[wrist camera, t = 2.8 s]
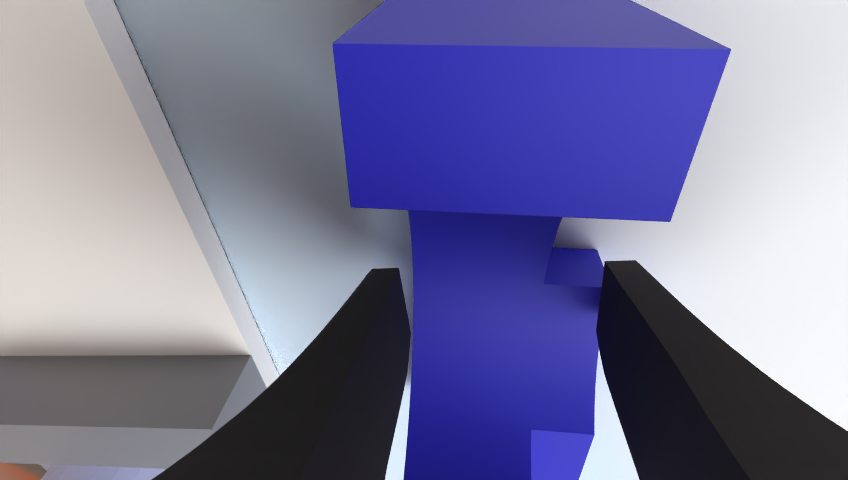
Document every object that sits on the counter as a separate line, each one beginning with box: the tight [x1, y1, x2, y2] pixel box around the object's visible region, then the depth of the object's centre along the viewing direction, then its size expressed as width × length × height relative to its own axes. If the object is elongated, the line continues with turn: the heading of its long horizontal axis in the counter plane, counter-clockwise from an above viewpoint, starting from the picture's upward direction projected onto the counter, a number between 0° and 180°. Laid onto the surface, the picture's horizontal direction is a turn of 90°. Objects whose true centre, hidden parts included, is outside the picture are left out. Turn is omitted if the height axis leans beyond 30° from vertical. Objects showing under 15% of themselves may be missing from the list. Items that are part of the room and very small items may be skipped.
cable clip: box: [333, 0, 731, 480], centre depth 9 cm, size 12×4×6 cm, turn 0°
